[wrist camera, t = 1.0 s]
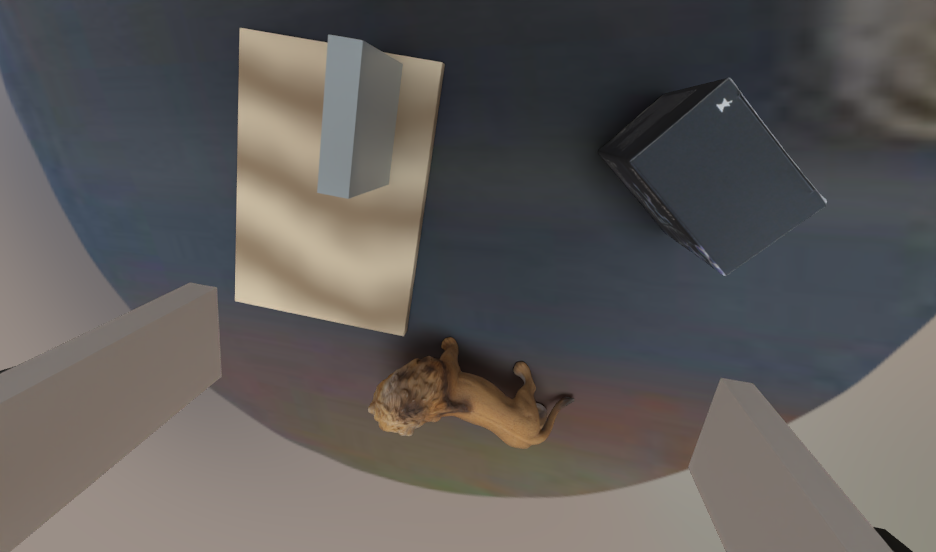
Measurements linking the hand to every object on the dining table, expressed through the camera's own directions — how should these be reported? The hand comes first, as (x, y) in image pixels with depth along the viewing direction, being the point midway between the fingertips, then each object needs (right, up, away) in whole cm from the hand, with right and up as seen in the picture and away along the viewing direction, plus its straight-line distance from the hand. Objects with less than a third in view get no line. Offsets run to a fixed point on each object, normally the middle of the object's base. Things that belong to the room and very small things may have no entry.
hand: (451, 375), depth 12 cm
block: (-5, +13, +20) cm, 24 cm away
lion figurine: (+1, -5, +26) cm, 27 cm away
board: (-10, +9, +23) cm, 26 cm away
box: (+14, +10, +20) cm, 26 cm away
